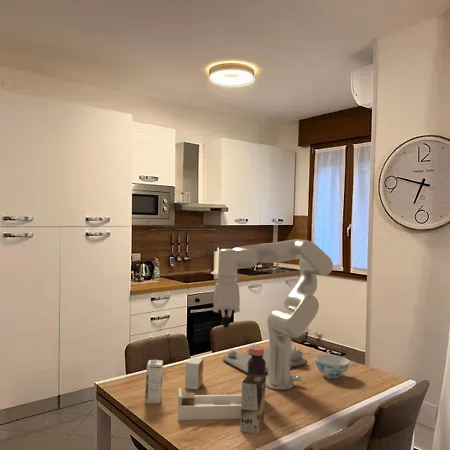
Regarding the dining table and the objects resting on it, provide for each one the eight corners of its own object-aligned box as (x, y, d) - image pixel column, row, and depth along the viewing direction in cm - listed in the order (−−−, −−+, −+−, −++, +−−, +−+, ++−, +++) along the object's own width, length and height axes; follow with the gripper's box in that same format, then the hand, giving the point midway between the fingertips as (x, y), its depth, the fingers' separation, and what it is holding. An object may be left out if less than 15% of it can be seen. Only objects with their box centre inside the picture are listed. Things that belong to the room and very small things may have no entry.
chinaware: (311, 378, 189) (312, 361, 189) (317, 368, 203) (318, 352, 203) (346, 385, 183) (347, 367, 183) (350, 374, 197) (350, 357, 197)
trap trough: (253, 406, 158) (253, 386, 158) (258, 418, 149) (259, 396, 149) (177, 407, 155) (178, 387, 155) (178, 419, 145) (178, 398, 145)
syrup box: (146, 397, 163) (147, 359, 163) (161, 397, 163) (163, 359, 163) (144, 403, 157) (146, 364, 157) (160, 403, 158) (162, 364, 157)
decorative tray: (275, 352, 228) (276, 333, 228) (310, 366, 206) (310, 346, 206) (220, 361, 209) (221, 341, 209) (252, 379, 187) (253, 356, 187)
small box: (197, 390, 172) (198, 364, 172) (184, 388, 173) (185, 362, 173) (202, 383, 179) (203, 358, 179) (190, 381, 181) (191, 356, 180)
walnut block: (193, 403, 153) (193, 392, 153) (194, 409, 148) (194, 397, 148) (180, 403, 152) (181, 392, 152) (181, 409, 148) (181, 398, 148)
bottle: (259, 405, 159) (261, 352, 159) (243, 400, 163) (245, 348, 163) (267, 399, 165) (269, 347, 165) (251, 394, 169) (253, 344, 169)
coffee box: (258, 434, 137) (260, 385, 137) (239, 431, 139) (241, 382, 139) (264, 422, 146) (266, 375, 146) (246, 419, 148) (248, 373, 148)
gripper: (244, 279, 172) (242, 324, 172) (207, 278, 170) (206, 324, 170) (247, 282, 165) (245, 329, 165) (209, 281, 163) (207, 329, 163)
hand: (225, 326), depth 167 cm, fingers closed
